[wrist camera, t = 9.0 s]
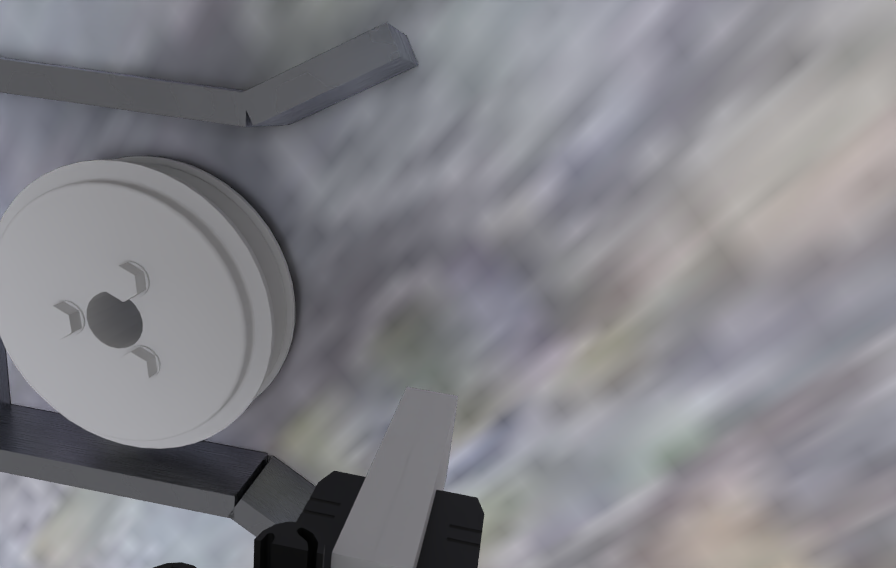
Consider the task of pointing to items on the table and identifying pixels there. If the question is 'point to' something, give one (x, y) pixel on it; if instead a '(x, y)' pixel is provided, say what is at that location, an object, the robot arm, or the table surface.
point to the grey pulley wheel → (143, 299)
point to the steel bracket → (203, 463)
